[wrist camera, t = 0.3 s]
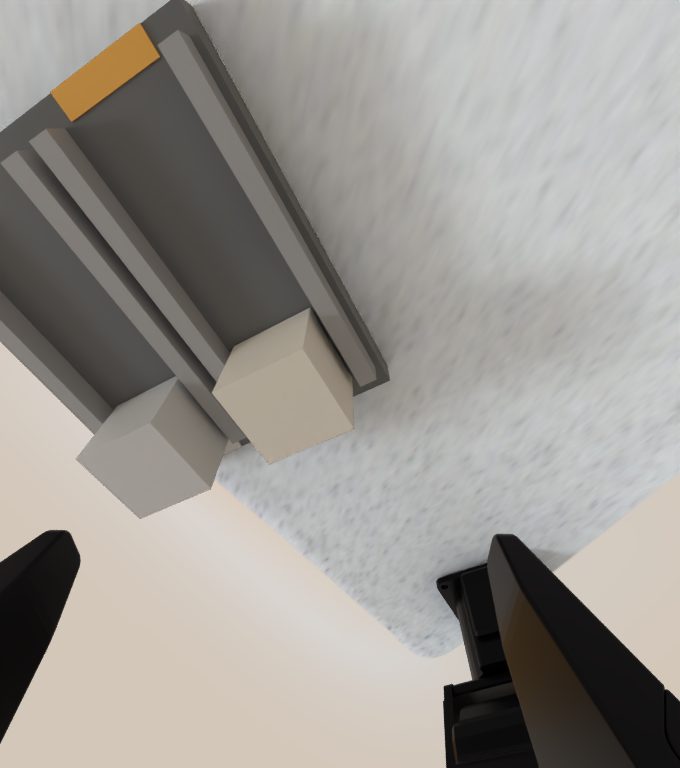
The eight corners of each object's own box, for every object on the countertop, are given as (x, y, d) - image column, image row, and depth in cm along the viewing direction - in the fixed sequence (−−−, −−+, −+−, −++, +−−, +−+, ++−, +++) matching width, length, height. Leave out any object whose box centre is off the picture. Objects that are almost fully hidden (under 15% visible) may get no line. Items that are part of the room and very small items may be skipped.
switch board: (387, 365, 23) (391, 393, 20) (168, 463, 26) (151, 497, 24) (191, 4, 16) (164, -14, 13) (-75, 206, 19) (-132, 219, 17)
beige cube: (352, 378, 21) (353, 428, 18) (280, 410, 22) (268, 464, 19) (309, 307, 19) (302, 348, 16) (233, 346, 20) (211, 393, 17)
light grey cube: (230, 433, 23) (210, 489, 20) (169, 461, 24) (139, 519, 21) (181, 372, 21) (150, 422, 18) (117, 406, 22) (75, 459, 19)
